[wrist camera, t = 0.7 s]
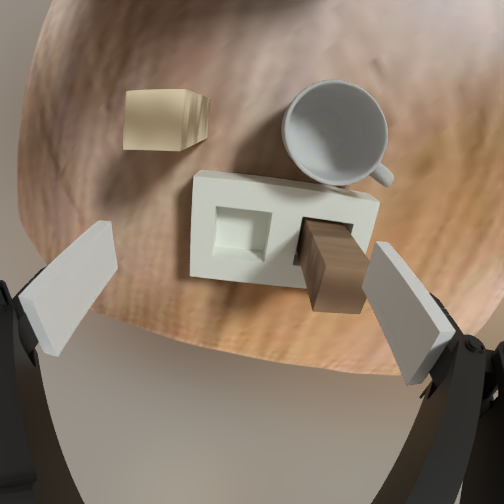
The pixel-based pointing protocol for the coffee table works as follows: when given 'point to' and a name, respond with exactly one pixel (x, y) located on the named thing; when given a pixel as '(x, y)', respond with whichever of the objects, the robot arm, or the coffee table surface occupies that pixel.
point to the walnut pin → (332, 266)
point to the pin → (165, 119)
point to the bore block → (265, 225)
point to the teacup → (336, 134)
